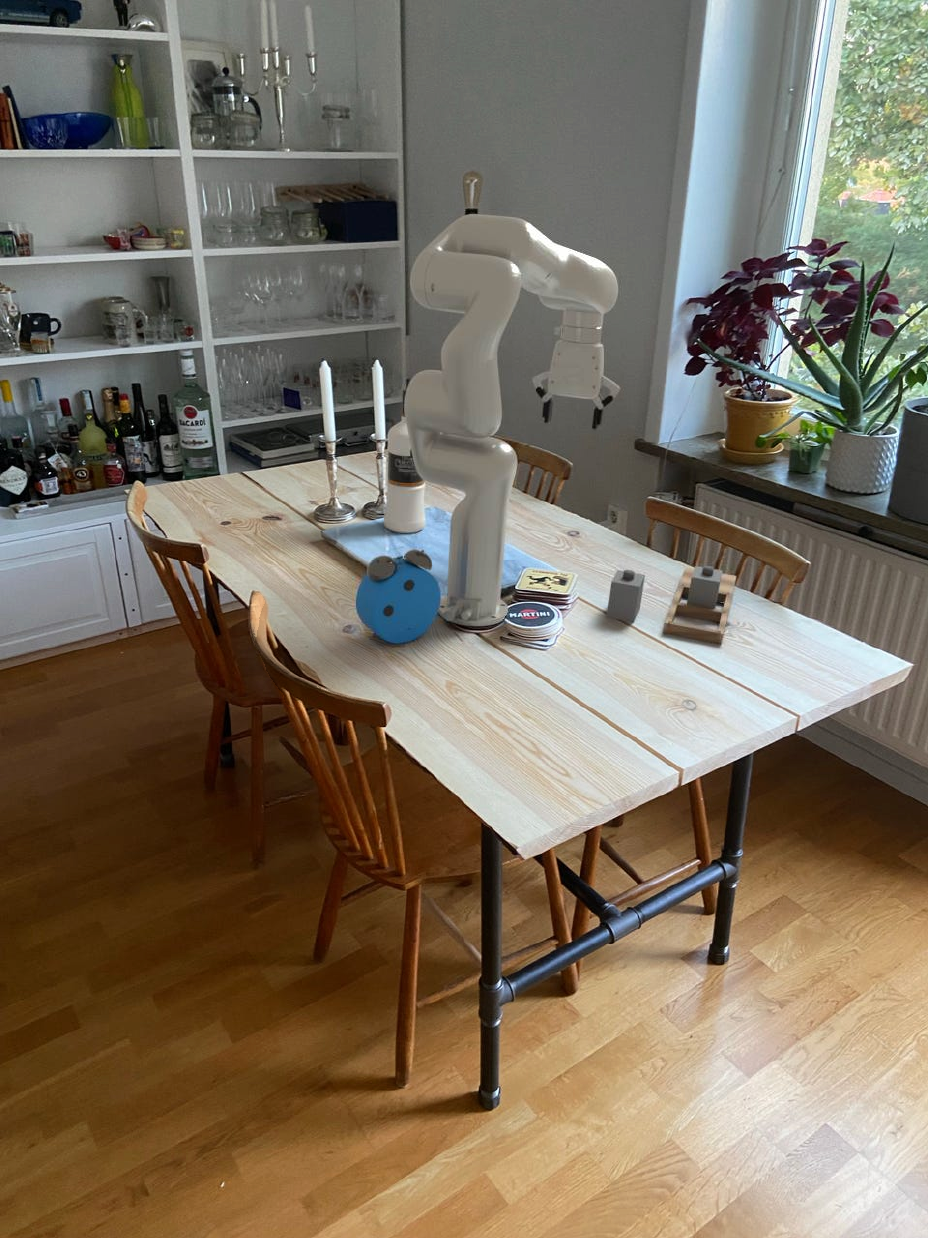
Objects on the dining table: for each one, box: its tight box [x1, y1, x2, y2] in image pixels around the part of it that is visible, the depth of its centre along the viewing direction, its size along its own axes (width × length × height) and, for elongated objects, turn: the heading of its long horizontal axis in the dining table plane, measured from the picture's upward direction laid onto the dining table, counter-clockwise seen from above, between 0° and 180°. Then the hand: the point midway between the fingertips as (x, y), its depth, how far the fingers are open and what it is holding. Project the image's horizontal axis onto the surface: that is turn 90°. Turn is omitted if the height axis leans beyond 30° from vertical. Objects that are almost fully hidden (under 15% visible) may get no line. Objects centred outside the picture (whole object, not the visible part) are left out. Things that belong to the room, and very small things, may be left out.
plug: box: [606, 569, 646, 623], centre depth 164 cm, size 6×5×8 cm
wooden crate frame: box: [662, 566, 737, 645], centre depth 169 cm, size 28×10×3 cm, turn 160°
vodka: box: [383, 388, 427, 534], centre depth 193 cm, size 9×9×30 cm
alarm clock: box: [355, 549, 442, 644], centre depth 148 cm, size 13×6×15 cm, turn 125°
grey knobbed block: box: [686, 565, 724, 609], centre depth 168 cm, size 6×5×8 cm
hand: (571, 424), depth 180 cm, fingers open, 9 cm apart
